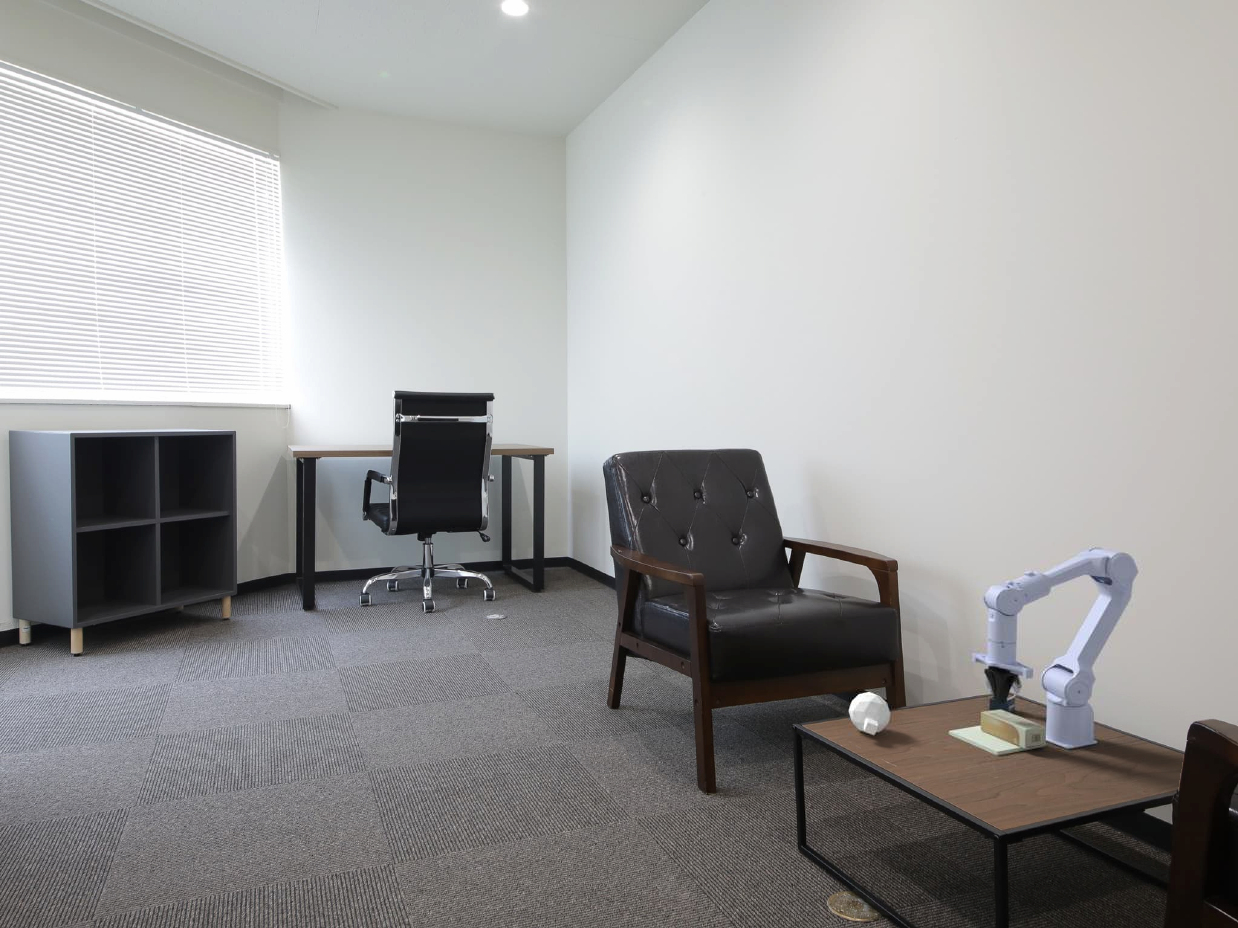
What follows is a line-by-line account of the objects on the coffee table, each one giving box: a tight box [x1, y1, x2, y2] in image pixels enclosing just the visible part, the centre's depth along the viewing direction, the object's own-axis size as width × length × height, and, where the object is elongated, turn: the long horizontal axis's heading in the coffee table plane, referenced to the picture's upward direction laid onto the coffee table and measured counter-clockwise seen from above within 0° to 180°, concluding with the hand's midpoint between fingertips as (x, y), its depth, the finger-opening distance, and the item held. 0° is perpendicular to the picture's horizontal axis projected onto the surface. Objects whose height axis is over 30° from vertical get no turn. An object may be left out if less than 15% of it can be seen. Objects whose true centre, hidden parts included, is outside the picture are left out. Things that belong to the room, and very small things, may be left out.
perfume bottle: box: [848, 691, 891, 736], centre depth 182 cm, size 9×9×12 cm
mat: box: [948, 725, 1045, 756], centre depth 179 cm, size 14×13×1 cm
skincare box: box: [980, 709, 1047, 750], centre depth 179 cm, size 6×4×12 cm
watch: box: [984, 675, 1023, 714], centre depth 199 cm, size 6×8×11 cm
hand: (1000, 701), depth 178 cm, fingers closed
